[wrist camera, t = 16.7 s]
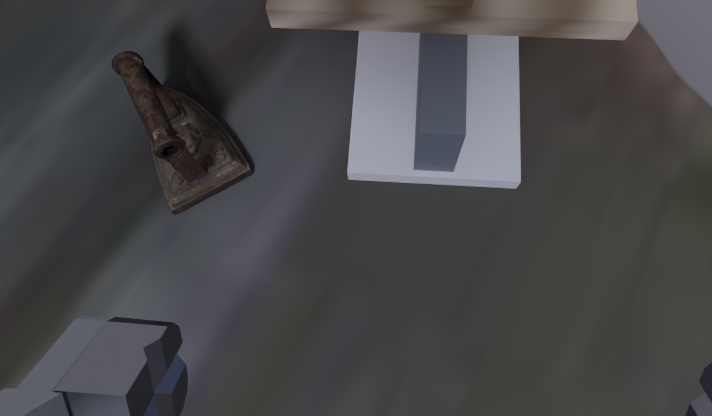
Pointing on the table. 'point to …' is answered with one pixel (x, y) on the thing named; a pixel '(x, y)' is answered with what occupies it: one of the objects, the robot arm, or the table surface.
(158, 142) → the clothes iron
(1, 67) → the table surface
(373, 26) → the balance beam
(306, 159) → the table surface
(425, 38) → the ridge stand
